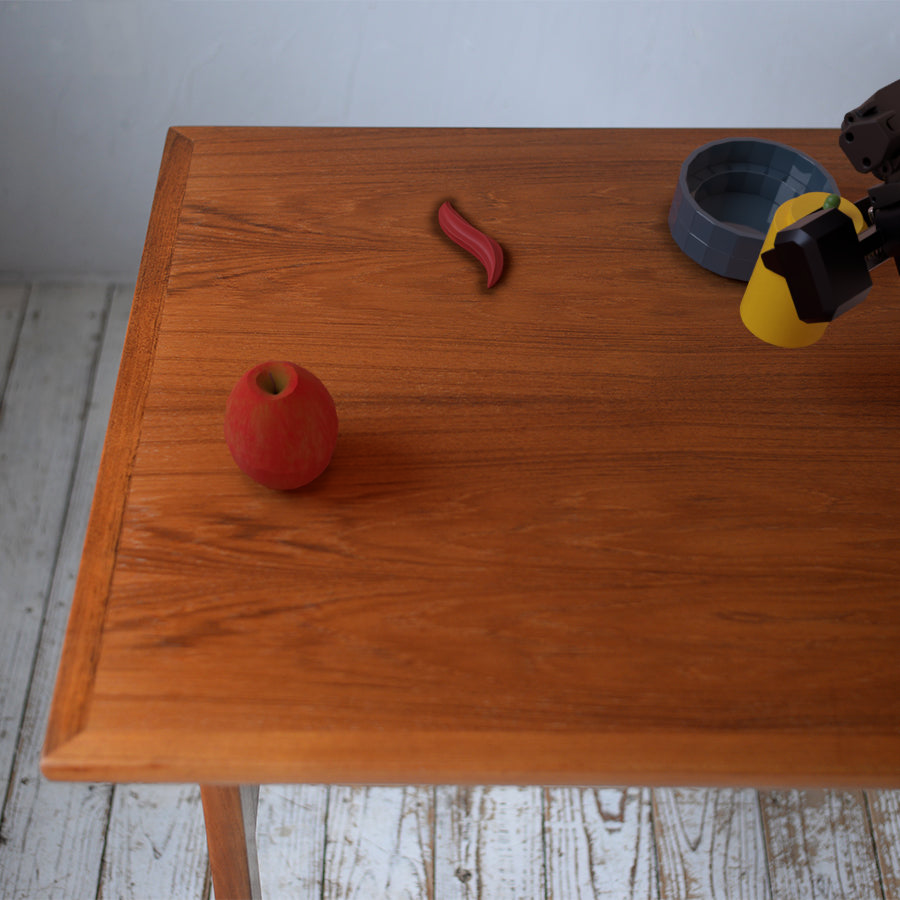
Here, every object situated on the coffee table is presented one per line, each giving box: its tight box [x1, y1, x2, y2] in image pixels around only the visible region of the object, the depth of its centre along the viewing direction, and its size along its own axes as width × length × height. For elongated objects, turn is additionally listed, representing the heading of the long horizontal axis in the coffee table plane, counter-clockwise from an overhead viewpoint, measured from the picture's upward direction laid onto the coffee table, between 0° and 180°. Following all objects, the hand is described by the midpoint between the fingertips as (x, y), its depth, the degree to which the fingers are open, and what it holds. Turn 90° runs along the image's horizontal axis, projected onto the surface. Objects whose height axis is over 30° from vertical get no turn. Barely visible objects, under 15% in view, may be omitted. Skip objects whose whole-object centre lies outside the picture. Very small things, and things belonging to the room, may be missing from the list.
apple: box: [222, 359, 340, 491], centre depth 69 cm, size 8×8×11 cm
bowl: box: [667, 136, 842, 283], centre depth 88 cm, size 14×14×6 cm
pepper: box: [739, 192, 868, 349], centre depth 70 cm, size 7×7×12 cm
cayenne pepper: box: [438, 200, 504, 289], centre depth 88 cm, size 12×5×2 cm, turn 13°
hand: (796, 241), depth 70 cm, fingers closed on pepper, 6 cm apart
